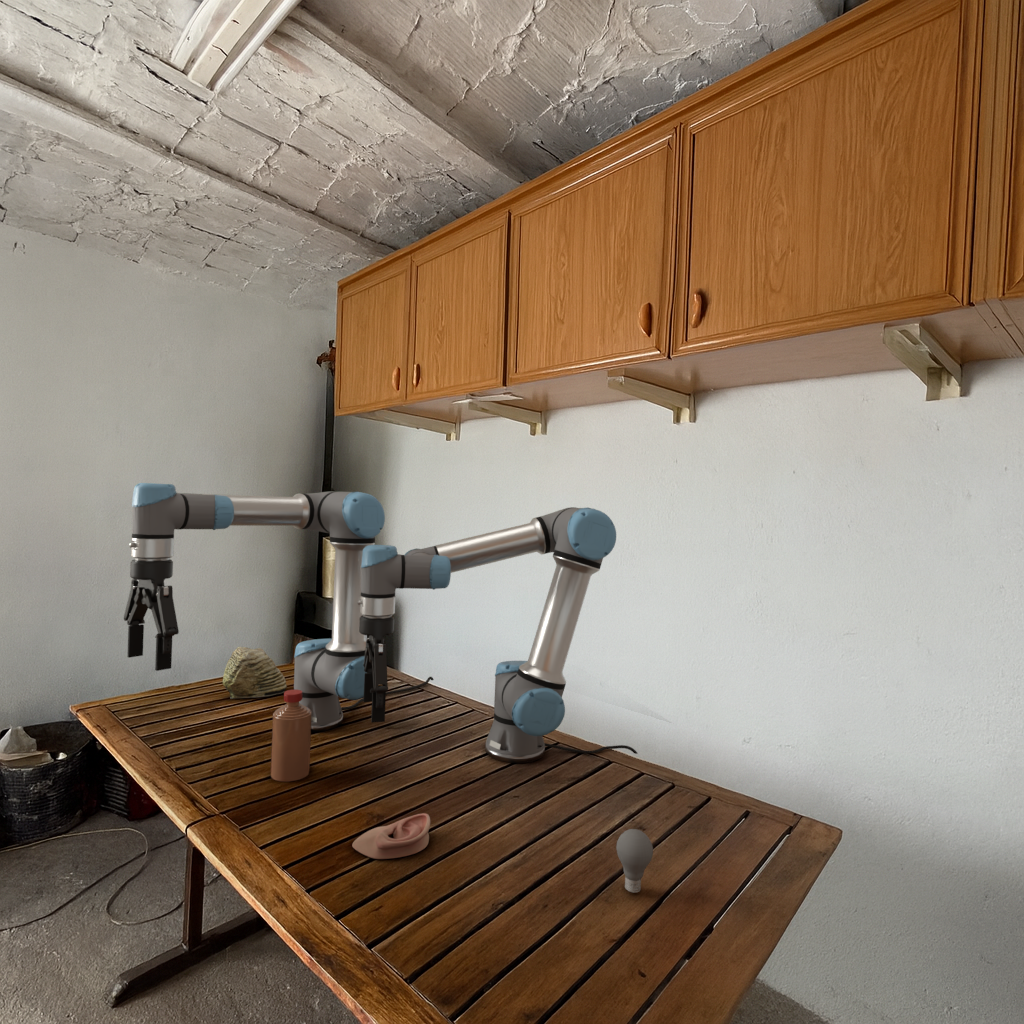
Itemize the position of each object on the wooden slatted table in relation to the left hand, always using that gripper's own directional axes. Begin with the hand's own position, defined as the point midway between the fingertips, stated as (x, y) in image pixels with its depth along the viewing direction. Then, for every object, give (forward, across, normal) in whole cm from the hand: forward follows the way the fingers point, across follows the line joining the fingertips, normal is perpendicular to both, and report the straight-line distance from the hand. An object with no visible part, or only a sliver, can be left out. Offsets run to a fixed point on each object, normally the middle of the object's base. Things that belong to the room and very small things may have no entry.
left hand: (148, 662), depth 129 cm
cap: (+10, +10, +27) cm, 30 cm away
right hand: (+12, +28, +36) cm, 47 cm away
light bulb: (+28, +90, +41) cm, 103 cm away
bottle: (+28, +10, +27) cm, 40 cm away
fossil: (+28, -47, +50) cm, 74 cm away
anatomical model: (+28, +50, +23) cm, 62 cm away
